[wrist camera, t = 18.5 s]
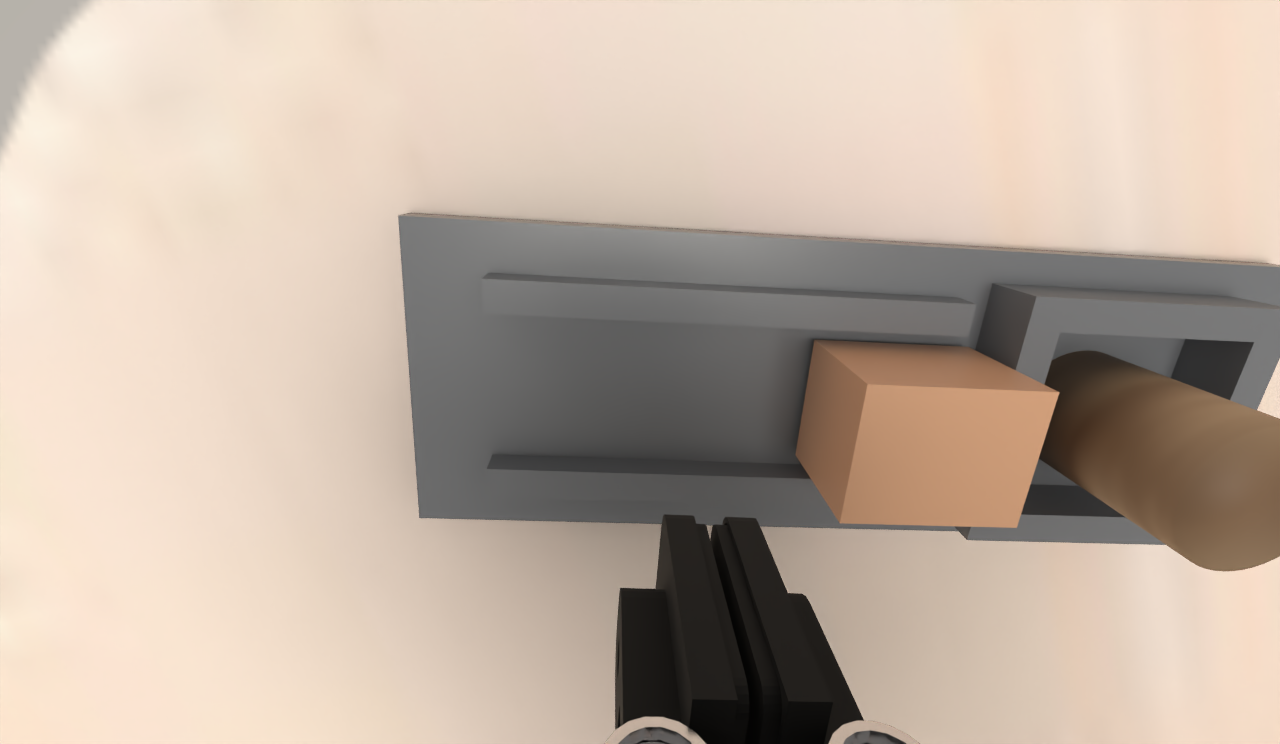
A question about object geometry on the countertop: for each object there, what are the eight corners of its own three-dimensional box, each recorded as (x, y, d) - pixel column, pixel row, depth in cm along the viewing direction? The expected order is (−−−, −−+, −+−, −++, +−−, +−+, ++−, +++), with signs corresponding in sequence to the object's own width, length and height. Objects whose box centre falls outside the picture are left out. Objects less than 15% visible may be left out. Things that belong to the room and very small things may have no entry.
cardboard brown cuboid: (939, 459, 20) (1016, 527, 16) (795, 455, 20) (839, 523, 16) (968, 346, 19) (1059, 392, 15) (814, 339, 18) (867, 384, 15)
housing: (1163, 521, 23) (1241, 571, 20) (428, 502, 21) (399, 554, 18) (1268, 263, 20) (1379, 279, 17) (409, 213, 18) (371, 221, 15)
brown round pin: (1107, 461, 21) (1295, 572, 15) (999, 457, 20) (1149, 569, 15) (1147, 353, 19) (1369, 430, 14) (1032, 347, 19) (1210, 423, 13)
